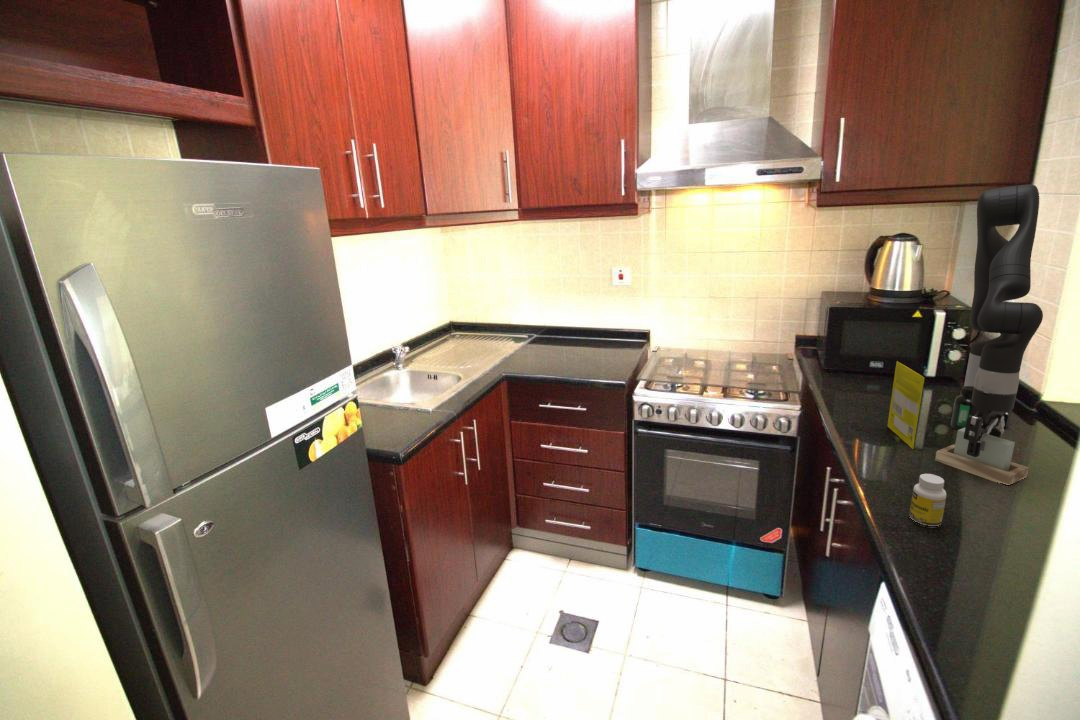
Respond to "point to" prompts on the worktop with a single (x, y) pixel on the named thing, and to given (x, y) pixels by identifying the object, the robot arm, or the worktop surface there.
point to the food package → (905, 403)
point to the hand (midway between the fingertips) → (982, 451)
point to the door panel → (987, 450)
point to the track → (981, 467)
